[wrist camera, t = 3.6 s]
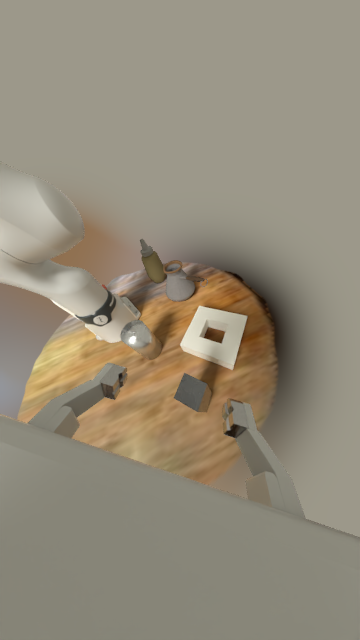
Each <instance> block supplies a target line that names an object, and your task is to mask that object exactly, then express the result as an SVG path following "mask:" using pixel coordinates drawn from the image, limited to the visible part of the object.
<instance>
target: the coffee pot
mask: <svg viewBox="0 0 360 640" xmlns="http://www.w3.org/2000/svg"><path fill="white" fill-rule="evenodd" d="M181 268H182V262H180V261H177V260H175V261H171V262H169V263H167V264H166V265H165V266H164V268H163V271H164V273H165V274H167V283H166V295H167V297H168V298H169V299H171V300H172V301H179V302H180V301H185V300H187V299H188V298H189V297H191V296H192V294H193V293H194V290H195V284H194V282H193V281H197V282H200V281H201V283H202V281H204V280H205V279H203V278H200V277H188V276H187V275H186V273H185V272H184V271H183V270H182V269H181ZM206 280H207V279H206ZM201 283H200V284H201ZM207 284H208V280H207ZM207 284H206V285H207ZM204 287H205V286H204Z"/></svg>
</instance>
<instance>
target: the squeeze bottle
mask: <svg viewBox="0 0 360 640" xmlns="http://www.w3.org/2000/svg"><path fill="white" fill-rule="evenodd" d="M140 242H141V246H142V250H141V254H142V261H143V264H144V266H145V269H146V271H147V274H148V276H149V278H150V279H151V280H153V281H154V282H155V283H161V282H162V281H164V280H165V273H164V271H163V268H164V266H163V264H162V262H161V261H160V259H159V257H158V255H157V253H156V252H155V251H153V249H152V247H151V246H147V244H146V243H145V241H144V240H143V239H141V240H140Z"/></svg>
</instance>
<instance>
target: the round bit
mask: <svg viewBox="0 0 360 640" xmlns="http://www.w3.org/2000/svg"><path fill="white" fill-rule="evenodd" d="M120 337H121V340H122V341H123V342H124V343H125V344H127V345H128V346H130V347H131V348H132V349H134V350H135V351H137V352H138V353H139V354H141V355H142V356H144V357H145V358H146V359H149V360H151V359H155V358H157V357H158V356H159V355H160V353H161V351H162V344H161V342H160V341H159V340H158V339H157V338H156V337H155V336H154V334H153V333H152V332H151V331H150V330H149V329H148V328H147V326H146V325H145V324H144V323H143V322H142V321H140V320H134V321H131V322H129V323H128V324H126V325H125V326H124V328H123V329H122V331H121V335H120Z"/></svg>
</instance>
